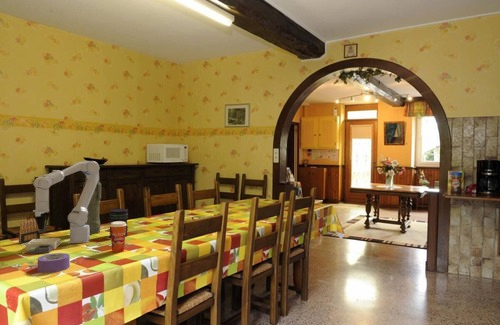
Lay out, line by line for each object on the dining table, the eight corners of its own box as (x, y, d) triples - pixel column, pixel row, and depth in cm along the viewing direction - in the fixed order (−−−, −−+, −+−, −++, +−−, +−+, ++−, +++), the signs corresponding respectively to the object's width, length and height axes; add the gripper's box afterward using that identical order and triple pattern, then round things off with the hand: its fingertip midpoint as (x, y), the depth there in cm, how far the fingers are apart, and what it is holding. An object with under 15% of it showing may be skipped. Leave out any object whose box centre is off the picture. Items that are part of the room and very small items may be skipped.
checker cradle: (52, 249, 177) (52, 244, 177) (48, 252, 171) (48, 247, 171) (32, 250, 175) (32, 245, 175) (27, 253, 169) (27, 248, 169)
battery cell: (46, 231, 181) (46, 216, 181) (44, 232, 178) (44, 217, 177) (39, 231, 180) (39, 216, 180) (37, 232, 177) (37, 217, 177)
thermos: (96, 234, 209) (96, 174, 208) (78, 233, 211) (78, 174, 210) (105, 231, 218) (105, 174, 217) (88, 230, 220) (88, 173, 219)
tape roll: (31, 269, 148) (31, 257, 148) (59, 262, 158) (59, 251, 158) (47, 275, 142) (47, 262, 142) (75, 267, 152) (75, 255, 151)
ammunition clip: (21, 244, 186) (21, 221, 186) (18, 243, 187) (18, 220, 187) (40, 239, 196) (40, 217, 196) (37, 239, 197) (37, 217, 197)
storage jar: (105, 236, 205) (105, 210, 205) (118, 233, 214) (118, 208, 214) (119, 238, 202) (119, 212, 201) (131, 234, 211) (131, 209, 210)
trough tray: (60, 243, 188) (60, 238, 188) (55, 249, 178) (55, 243, 178) (32, 245, 185) (32, 239, 185) (25, 250, 175) (25, 244, 175)
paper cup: (110, 253, 172) (110, 224, 171) (108, 249, 178) (109, 221, 178) (127, 251, 175) (128, 223, 175) (125, 248, 182) (125, 220, 182)
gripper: (37, 199, 184) (38, 225, 185) (28, 203, 170) (28, 231, 171) (53, 199, 186) (53, 225, 187) (44, 203, 172) (44, 231, 173)
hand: (42, 228), depth 179 cm, fingers closed on battery cell, 3 cm apart
